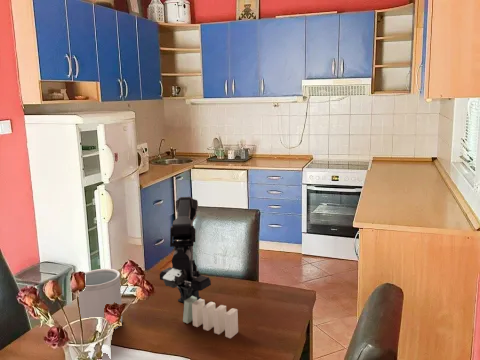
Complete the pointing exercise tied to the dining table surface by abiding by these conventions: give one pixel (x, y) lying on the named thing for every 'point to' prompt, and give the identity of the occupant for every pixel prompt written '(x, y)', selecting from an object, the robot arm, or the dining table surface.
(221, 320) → the cream domino
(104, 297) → the utensil holder
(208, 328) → the cream domino
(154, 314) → the dining table surface
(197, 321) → the cream domino
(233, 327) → the cream domino
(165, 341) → the dining table surface
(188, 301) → the sage domino
